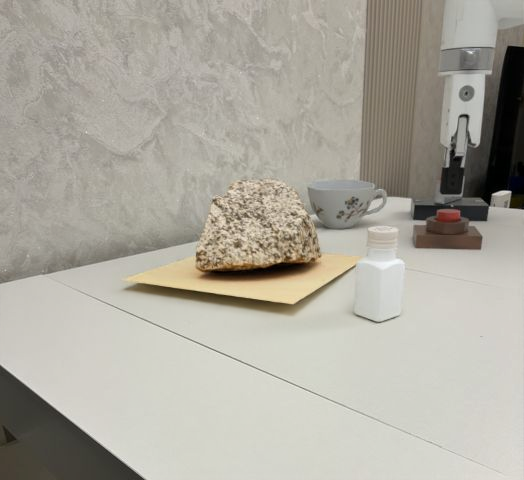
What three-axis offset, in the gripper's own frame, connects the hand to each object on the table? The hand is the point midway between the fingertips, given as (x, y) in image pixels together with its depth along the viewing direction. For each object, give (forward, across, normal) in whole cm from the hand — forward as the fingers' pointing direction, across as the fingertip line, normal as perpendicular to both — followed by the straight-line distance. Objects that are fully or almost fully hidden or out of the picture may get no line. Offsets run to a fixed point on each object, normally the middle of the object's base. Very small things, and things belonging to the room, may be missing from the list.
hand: (450, 193), depth 87 cm
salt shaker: (+8, -36, +11) cm, 39 cm away
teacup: (+8, +13, +17) cm, 23 cm away
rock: (+8, -21, +28) cm, 36 cm away
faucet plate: (+8, +25, -3) cm, 26 cm away
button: (+4, 0, 0) cm, 4 cm away
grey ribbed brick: (+5, +25, -3) cm, 26 cm away
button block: (+8, 0, 0) cm, 8 cm away
